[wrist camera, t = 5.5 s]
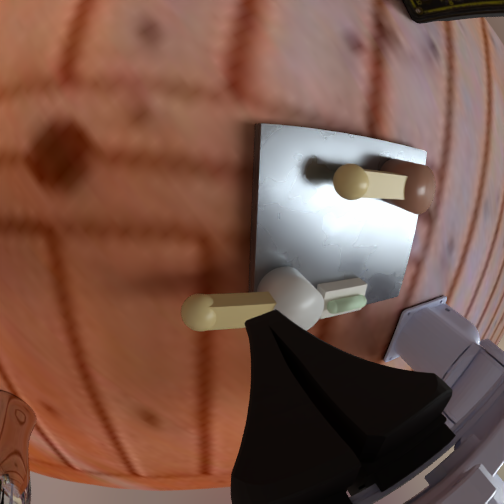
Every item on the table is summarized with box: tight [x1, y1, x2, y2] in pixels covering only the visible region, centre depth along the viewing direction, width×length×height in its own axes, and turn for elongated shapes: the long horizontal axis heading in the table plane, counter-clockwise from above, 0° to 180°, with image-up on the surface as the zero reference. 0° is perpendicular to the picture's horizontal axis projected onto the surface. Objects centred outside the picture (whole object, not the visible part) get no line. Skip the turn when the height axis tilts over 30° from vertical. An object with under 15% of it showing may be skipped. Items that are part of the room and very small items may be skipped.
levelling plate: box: [248, 123, 427, 304], centre depth 20 cm, size 15×14×1 cm
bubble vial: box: [317, 278, 368, 319], centre depth 21 cm, size 4×2×2 cm, turn 86°
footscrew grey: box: [181, 266, 324, 331], centre depth 17 cm, size 9×4×3 cm, turn 82°
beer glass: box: [0, 391, 37, 504], centre depth 11 cm, size 7×7×15 cm
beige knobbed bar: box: [333, 159, 435, 215], centre depth 17 cm, size 9×4×3 cm, turn 87°
